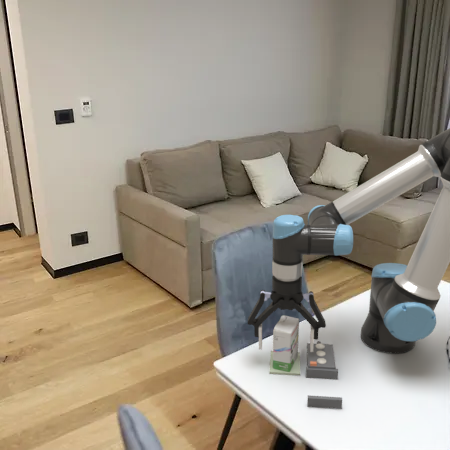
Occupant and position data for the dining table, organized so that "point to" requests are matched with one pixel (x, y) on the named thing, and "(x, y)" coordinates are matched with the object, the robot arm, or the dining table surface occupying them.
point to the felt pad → (294, 371)
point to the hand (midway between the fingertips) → (285, 348)
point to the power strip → (322, 373)
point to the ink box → (285, 343)
